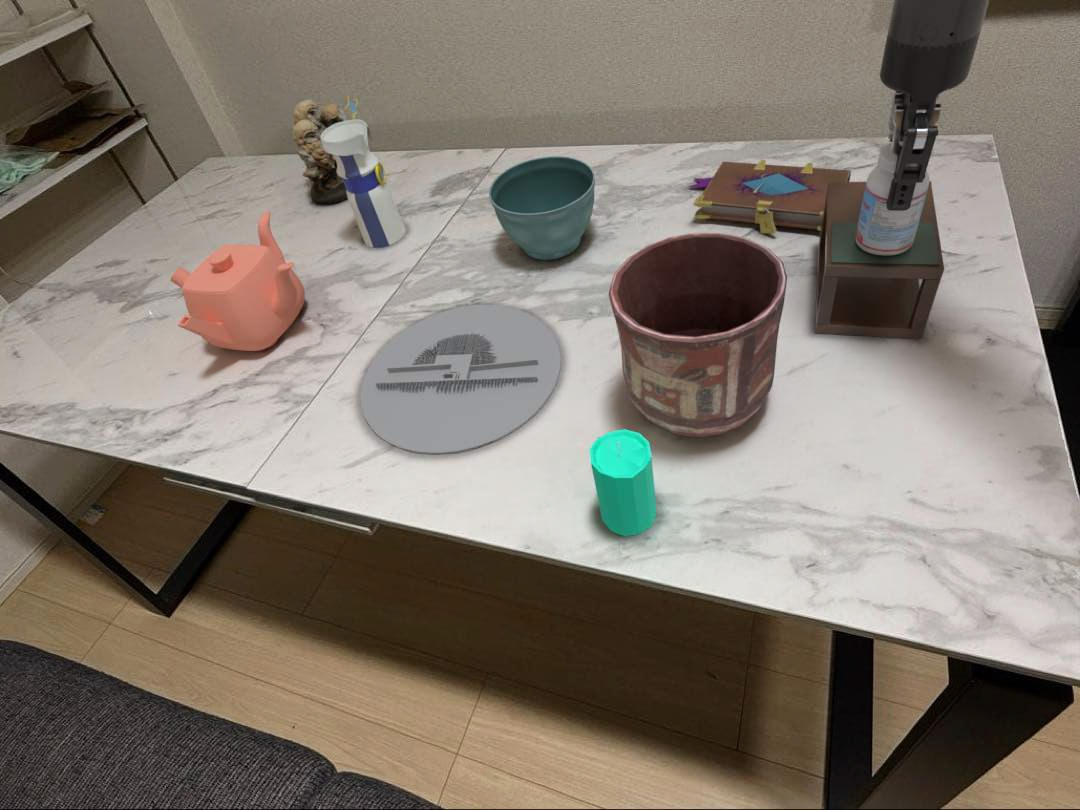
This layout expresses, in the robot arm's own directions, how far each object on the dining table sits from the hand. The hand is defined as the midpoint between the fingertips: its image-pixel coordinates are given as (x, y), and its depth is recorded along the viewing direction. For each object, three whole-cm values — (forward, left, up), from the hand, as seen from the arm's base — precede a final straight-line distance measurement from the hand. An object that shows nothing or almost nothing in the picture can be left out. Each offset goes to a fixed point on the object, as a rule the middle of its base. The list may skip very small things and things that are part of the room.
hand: (895, 191), depth 72 cm
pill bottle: (0, 0, -7) cm, 7 cm away
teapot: (+88, +9, -17) cm, 90 cm away
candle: (+24, +34, -18) cm, 46 cm away
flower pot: (+46, -14, -18) cm, 51 cm away
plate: (+51, +16, -17) cm, 56 cm away
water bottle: (+78, -16, -17) cm, 82 cm away
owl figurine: (+96, -33, -18) cm, 103 cm away
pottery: (+19, +17, -18) cm, 31 cm away
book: (+15, -25, -17) cm, 34 cm away
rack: (0, -5, -17) cm, 18 cm away
